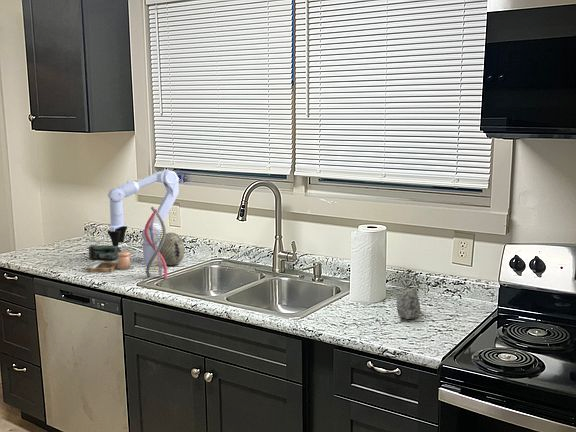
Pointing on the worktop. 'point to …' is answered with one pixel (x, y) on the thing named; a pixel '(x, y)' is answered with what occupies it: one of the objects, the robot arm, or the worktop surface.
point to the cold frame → (103, 266)
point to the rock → (408, 304)
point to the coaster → (128, 269)
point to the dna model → (150, 220)
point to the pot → (124, 260)
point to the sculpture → (103, 252)
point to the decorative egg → (172, 249)
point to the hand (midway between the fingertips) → (118, 244)
